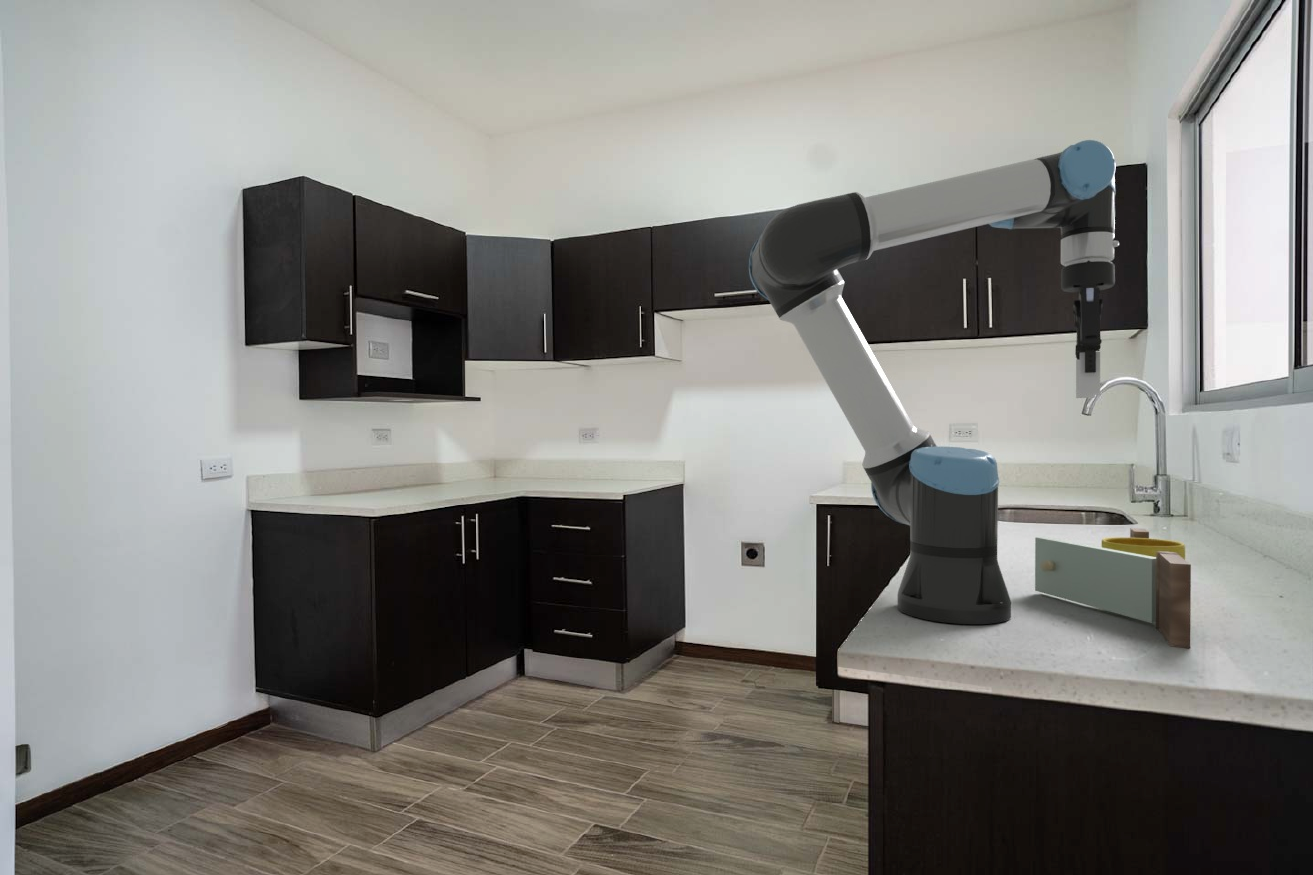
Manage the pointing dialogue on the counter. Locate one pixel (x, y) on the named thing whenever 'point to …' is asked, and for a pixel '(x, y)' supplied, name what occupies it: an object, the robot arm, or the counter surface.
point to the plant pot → (1143, 545)
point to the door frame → (1171, 594)
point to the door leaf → (1097, 577)
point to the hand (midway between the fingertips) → (1087, 396)
